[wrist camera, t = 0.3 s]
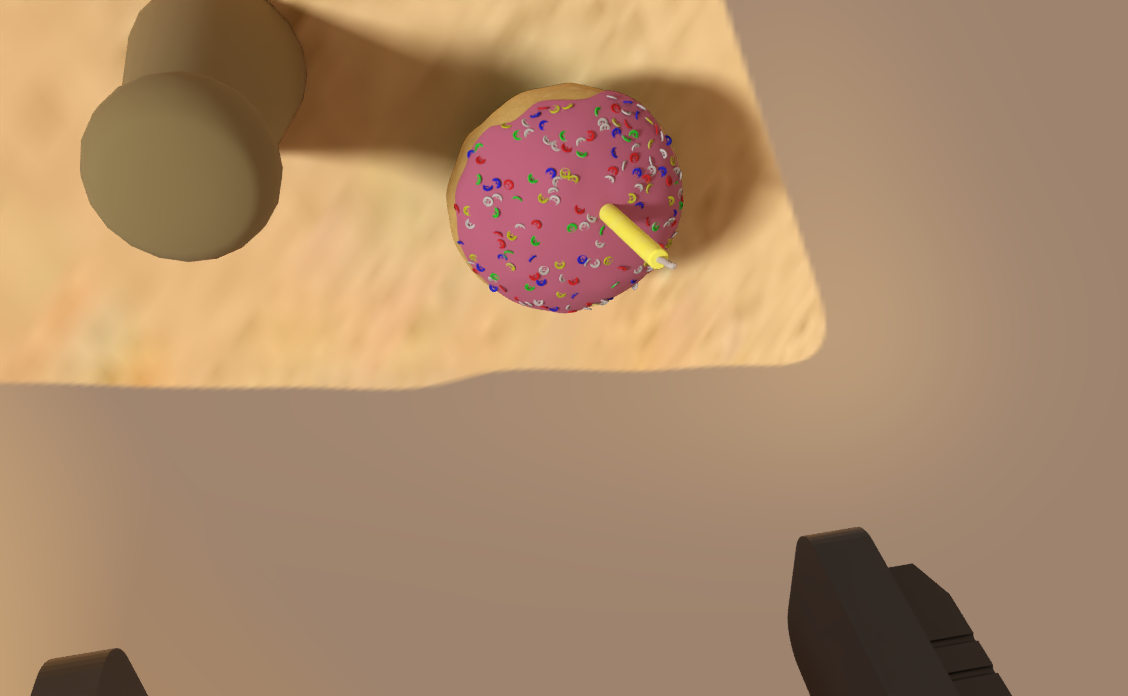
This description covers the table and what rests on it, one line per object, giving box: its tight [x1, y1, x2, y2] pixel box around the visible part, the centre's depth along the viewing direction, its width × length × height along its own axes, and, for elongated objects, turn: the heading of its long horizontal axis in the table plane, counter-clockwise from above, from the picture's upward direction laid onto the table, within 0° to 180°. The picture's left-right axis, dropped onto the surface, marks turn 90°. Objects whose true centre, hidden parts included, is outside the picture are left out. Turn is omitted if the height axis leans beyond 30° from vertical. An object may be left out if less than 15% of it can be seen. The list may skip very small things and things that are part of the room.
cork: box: [80, 0, 307, 262], centre depth 30 cm, size 6×6×11 cm
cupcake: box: [446, 83, 683, 313], centre depth 34 cm, size 9×8×12 cm
